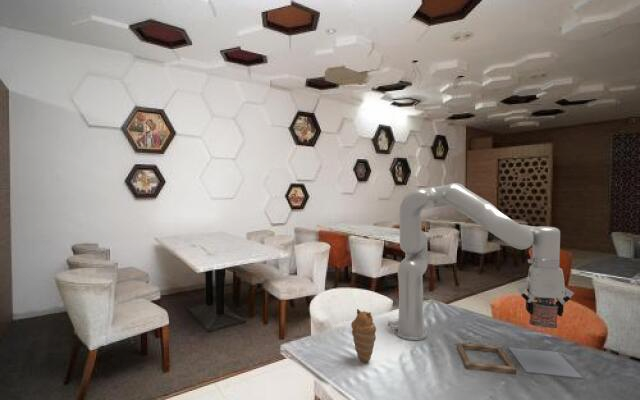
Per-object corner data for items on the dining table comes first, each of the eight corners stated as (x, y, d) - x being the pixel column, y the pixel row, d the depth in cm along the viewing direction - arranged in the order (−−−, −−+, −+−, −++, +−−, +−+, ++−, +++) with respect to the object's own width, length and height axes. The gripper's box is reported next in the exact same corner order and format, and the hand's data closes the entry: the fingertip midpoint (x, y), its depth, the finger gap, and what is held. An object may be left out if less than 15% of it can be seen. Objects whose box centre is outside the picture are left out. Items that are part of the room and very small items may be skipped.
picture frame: (466, 368, 108) (466, 364, 108) (457, 346, 122) (457, 342, 122) (516, 374, 104) (516, 369, 104) (500, 350, 119) (500, 346, 119)
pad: (526, 372, 105) (526, 371, 105) (508, 348, 121) (508, 347, 121) (582, 378, 102) (582, 377, 102) (556, 353, 118) (557, 351, 118)
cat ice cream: (347, 362, 112) (347, 310, 111) (359, 352, 118) (359, 304, 117) (370, 371, 106) (370, 317, 105) (381, 360, 113) (381, 309, 112)
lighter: (555, 325, 111) (557, 296, 110) (558, 329, 108) (560, 300, 107) (528, 321, 114) (529, 293, 113) (530, 325, 111) (532, 297, 110)
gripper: (521, 264, 108) (520, 316, 109) (581, 267, 104) (579, 320, 105) (513, 259, 115) (512, 307, 116) (568, 261, 112) (567, 311, 112)
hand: (544, 313), depth 111 cm, fingers closed on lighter, 8 cm apart
